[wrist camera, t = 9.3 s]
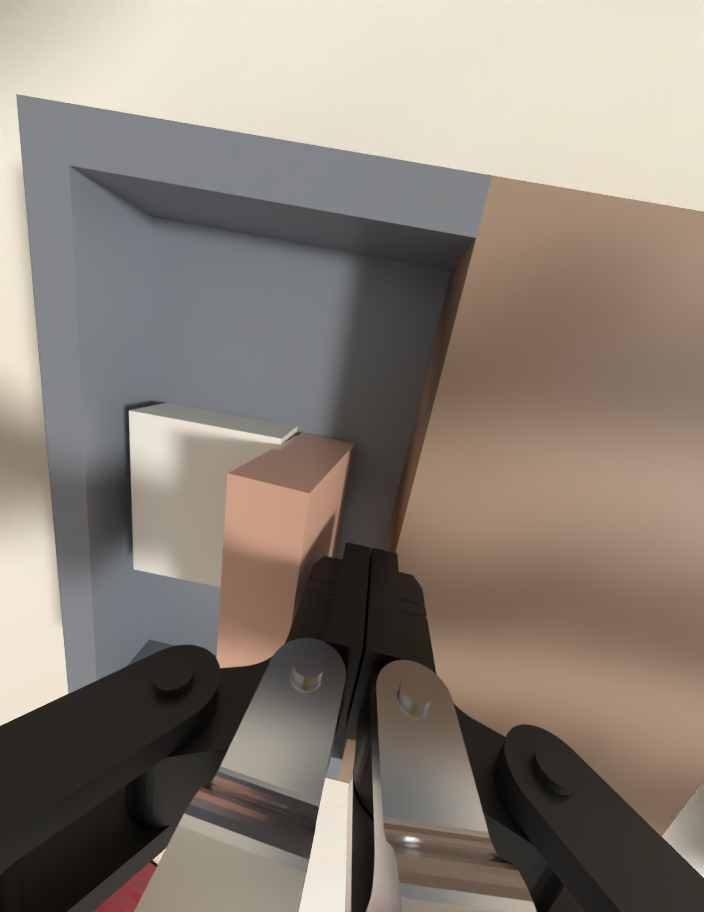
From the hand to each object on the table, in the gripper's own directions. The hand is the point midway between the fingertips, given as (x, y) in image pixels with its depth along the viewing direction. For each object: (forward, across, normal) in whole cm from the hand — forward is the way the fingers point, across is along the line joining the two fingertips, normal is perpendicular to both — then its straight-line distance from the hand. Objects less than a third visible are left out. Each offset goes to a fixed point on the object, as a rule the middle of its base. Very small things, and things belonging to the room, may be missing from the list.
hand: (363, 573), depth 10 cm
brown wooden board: (+5, -7, 0) cm, 8 cm away
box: (+5, +5, 0) cm, 7 cm away
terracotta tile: (+1, +1, 0) cm, 2 cm away
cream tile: (+2, +6, 0) cm, 6 cm away
